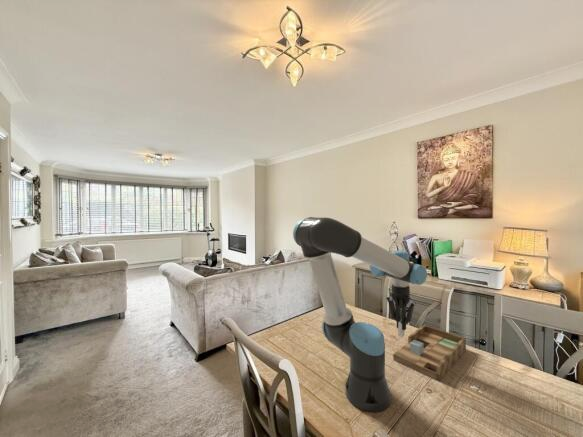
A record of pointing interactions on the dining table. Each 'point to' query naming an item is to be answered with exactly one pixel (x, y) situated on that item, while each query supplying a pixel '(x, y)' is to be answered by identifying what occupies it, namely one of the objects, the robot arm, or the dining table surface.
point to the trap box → (432, 352)
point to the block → (416, 347)
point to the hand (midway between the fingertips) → (401, 335)
